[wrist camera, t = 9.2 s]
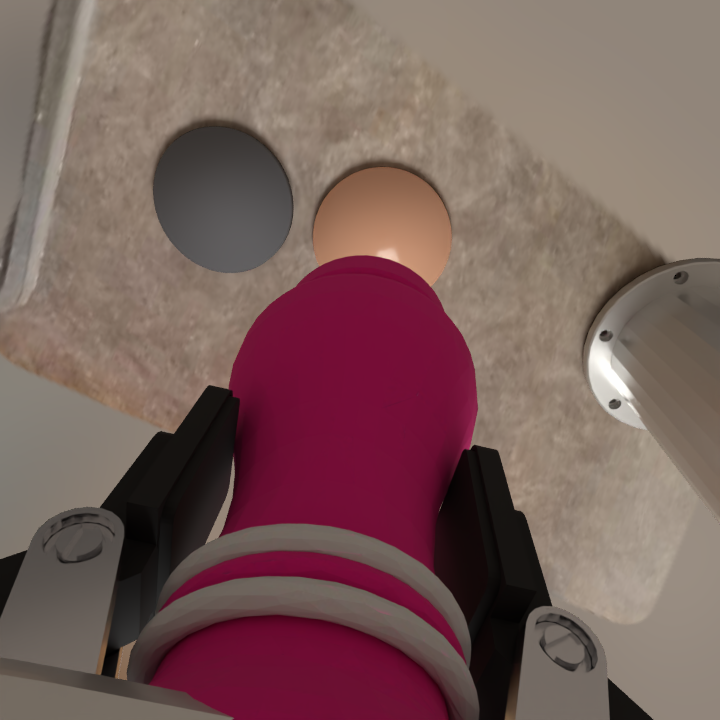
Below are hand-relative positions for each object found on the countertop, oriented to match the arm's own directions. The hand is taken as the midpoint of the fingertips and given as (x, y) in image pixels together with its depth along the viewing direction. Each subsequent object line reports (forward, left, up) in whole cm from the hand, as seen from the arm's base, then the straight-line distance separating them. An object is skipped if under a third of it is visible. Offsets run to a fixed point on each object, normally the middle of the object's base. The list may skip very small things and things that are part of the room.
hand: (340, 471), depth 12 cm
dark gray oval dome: (+10, 0, -24) cm, 26 cm away
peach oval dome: (0, 0, -24) cm, 24 cm away
